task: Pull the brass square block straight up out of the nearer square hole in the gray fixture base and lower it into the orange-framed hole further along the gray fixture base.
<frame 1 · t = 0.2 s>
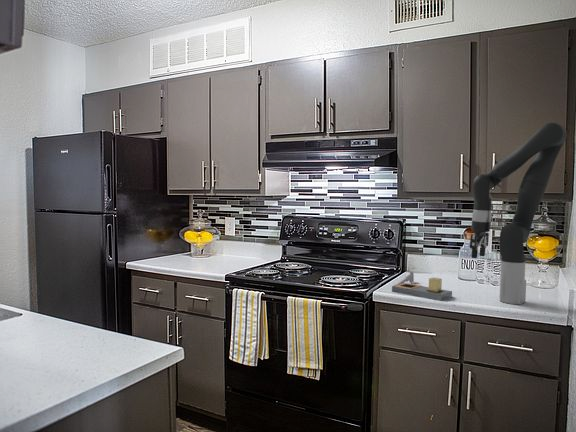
hand: (478, 257, 205), 17 cm above the countertop, tool pointing down, fingers open, 8 cm apart
gray fixture base: (421, 294, 209), on the countertop
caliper: (403, 286, 228), on the countertop
brass block: (434, 296, 205), resting in gray fixture base
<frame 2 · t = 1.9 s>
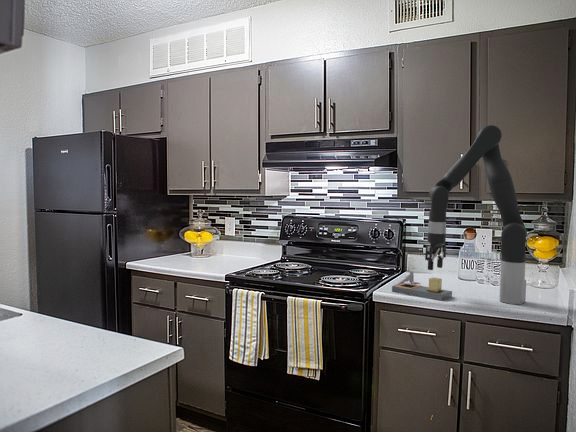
hand: (435, 268, 204), 12 cm above the countertop, tool pointing down, fingers open, 8 cm apart
nothing on the countertop moved.
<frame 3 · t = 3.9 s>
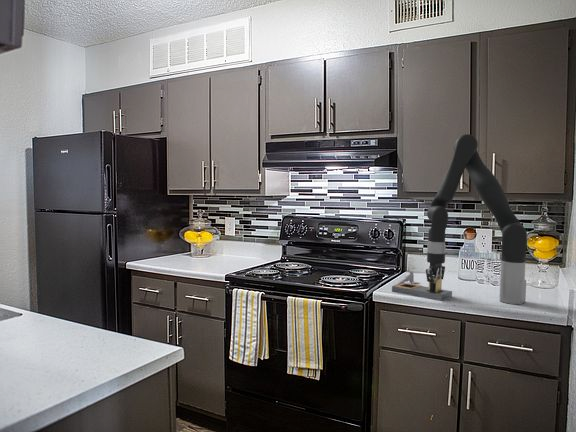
hand: (435, 290, 204), 3 cm above the countertop, tool pointing down, fingers closed on brass block, 4 cm apart
brass block: (434, 296, 205), resting in gray fixture base, touching gripper
everything else where it was.
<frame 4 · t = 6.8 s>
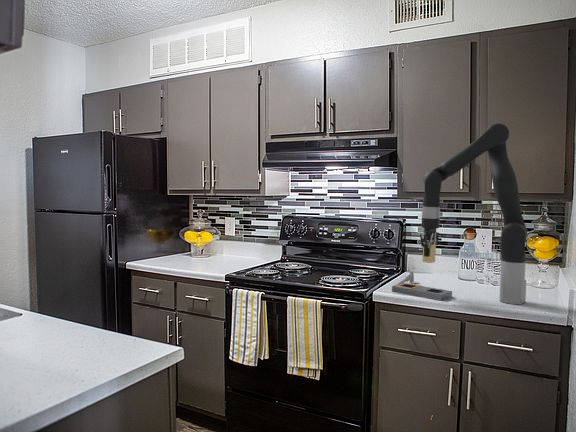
hand: (429, 255, 205), 18 cm above the countertop, tool pointing down, fingers closed on brass block, 4 cm apart
brass block: (428, 262, 206), point 15 cm above the countertop, touching gripper
everything else where it was.
when the fingers open (4 cm above the countertop, at t = 9.9 s): brass block stays where it is, resting in gray fixture base.
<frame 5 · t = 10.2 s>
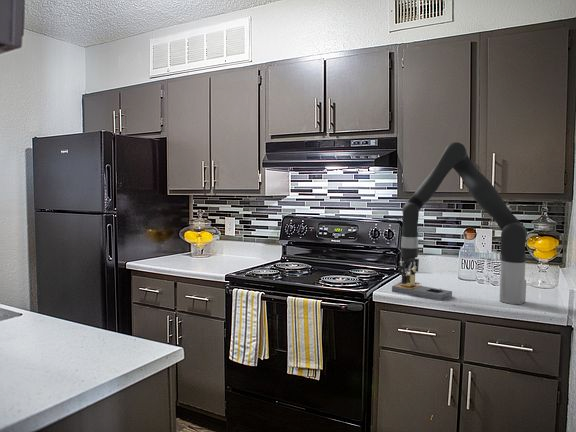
hand: (408, 282, 213), 4 cm above the countertop, tool pointing down, fingers open, 6 cm apart
brass block: (408, 291, 214), resting in gray fixture base
everything else where it was.
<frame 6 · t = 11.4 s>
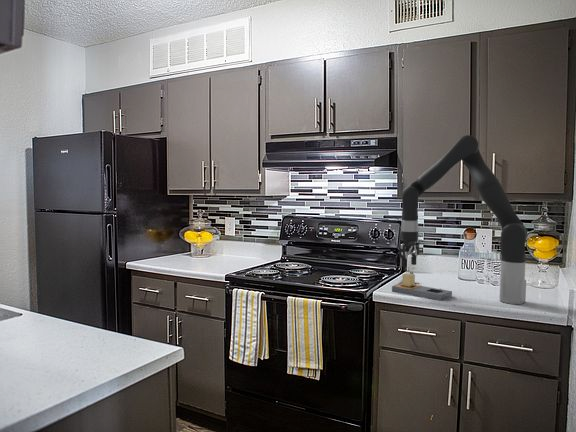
hand: (409, 265, 213), 12 cm above the countertop, tool pointing down, fingers open, 8 cm apart
nothing on the countertop moved.
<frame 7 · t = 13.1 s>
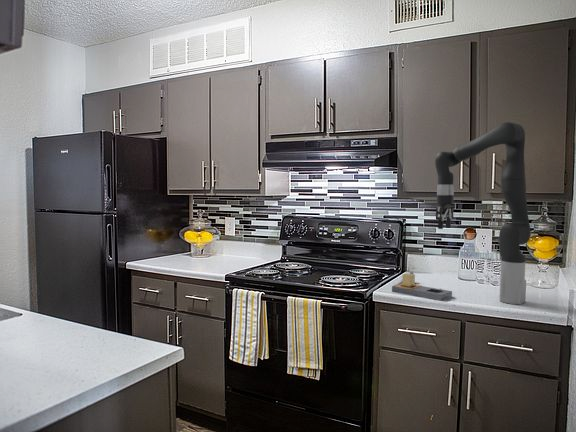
hand: (444, 228, 222), 28 cm above the countertop, tool pointing down, fingers open, 8 cm apart
nothing on the countertop moved.
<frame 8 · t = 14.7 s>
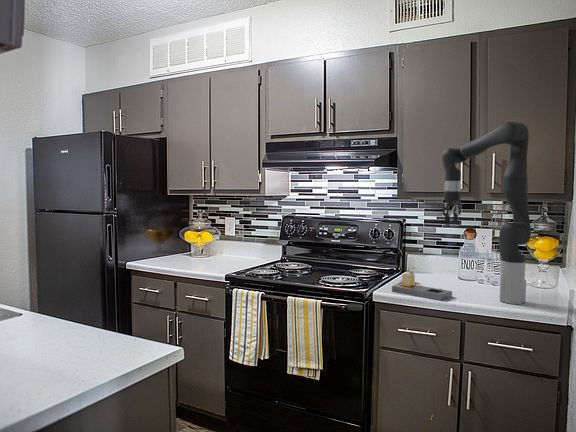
hand: (451, 224, 224), 30 cm above the countertop, tool pointing down, fingers open, 8 cm apart
nothing on the countertop moved.
at the end: brass block 0.0 cm from the target spot on the gray fixture base, point 0.0 cm above the gray fixture base's base; brass block tilted 0°; the gripper is holding nothing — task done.
